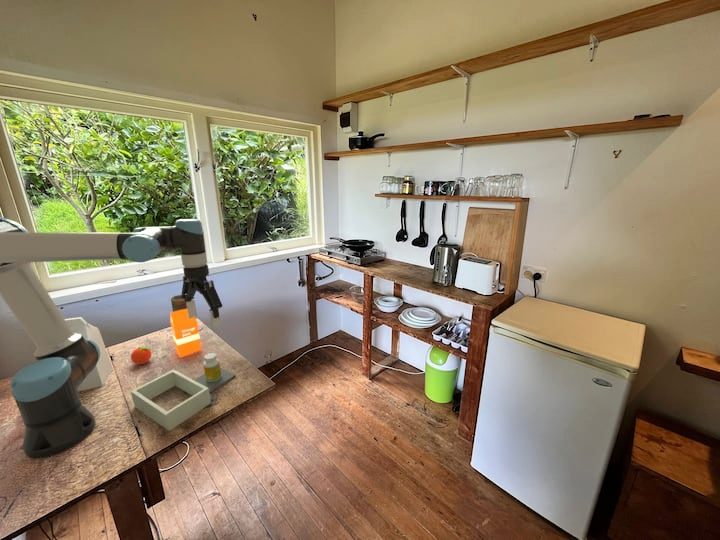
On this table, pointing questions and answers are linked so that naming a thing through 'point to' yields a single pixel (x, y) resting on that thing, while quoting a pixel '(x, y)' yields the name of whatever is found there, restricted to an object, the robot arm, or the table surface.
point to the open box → (178, 412)
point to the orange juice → (185, 333)
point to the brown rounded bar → (178, 303)
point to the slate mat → (216, 384)
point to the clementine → (141, 355)
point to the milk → (103, 365)
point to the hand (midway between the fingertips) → (204, 321)
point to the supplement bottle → (212, 367)
